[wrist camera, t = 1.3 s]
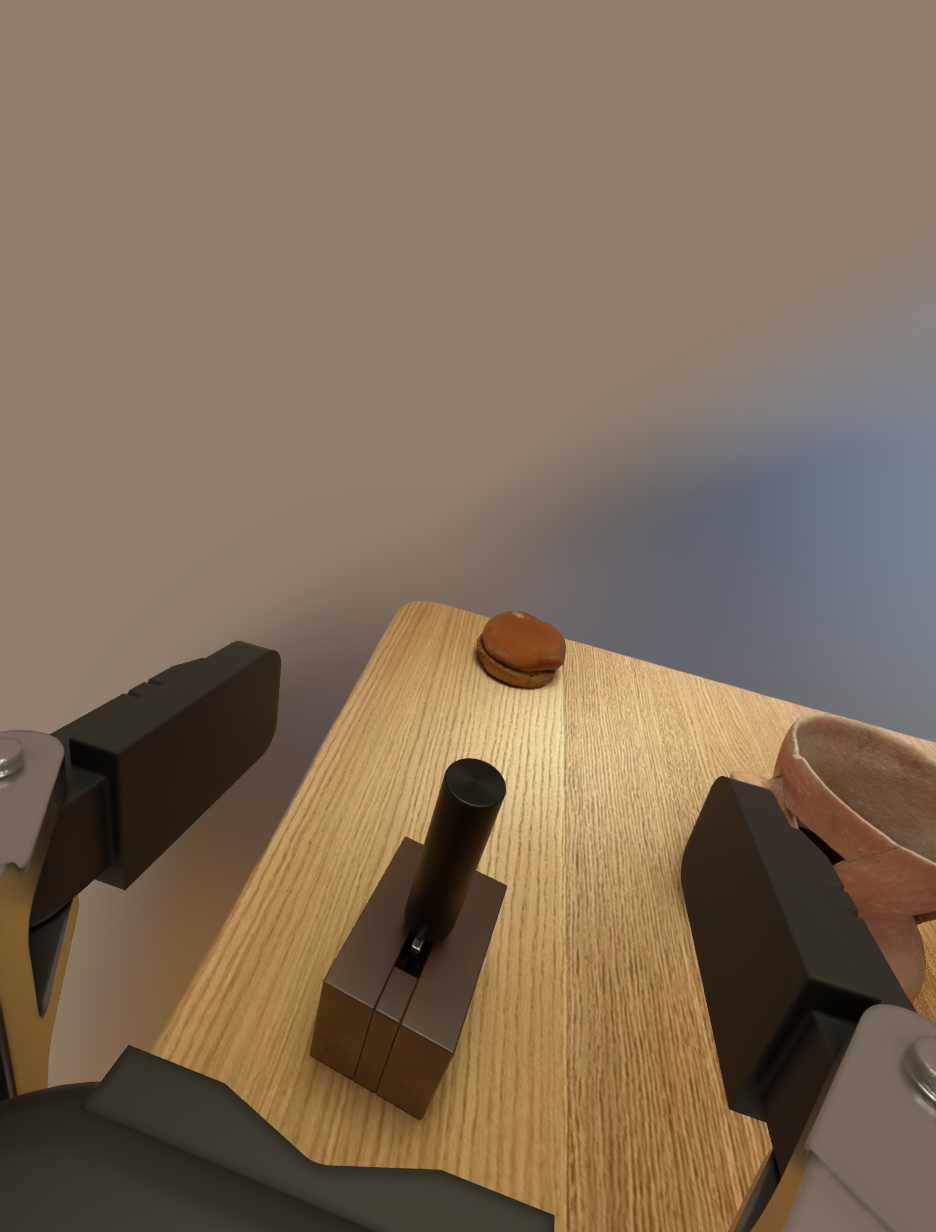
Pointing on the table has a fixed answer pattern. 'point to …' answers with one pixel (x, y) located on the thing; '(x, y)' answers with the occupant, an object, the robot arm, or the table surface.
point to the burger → (521, 649)
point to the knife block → (403, 990)
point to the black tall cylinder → (451, 851)
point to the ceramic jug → (866, 825)
